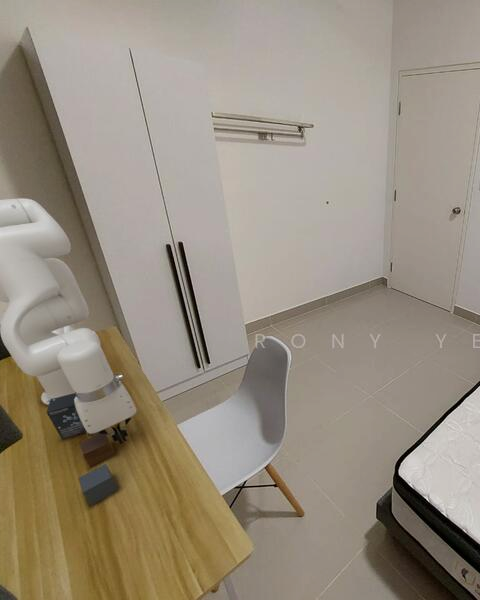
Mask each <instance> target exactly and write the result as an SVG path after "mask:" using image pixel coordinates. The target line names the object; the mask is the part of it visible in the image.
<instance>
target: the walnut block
mask: <svg viewBox="0 0 480 600" xmlns="http://www.w3.org/2000/svg"><path fill="white" fill-rule="evenodd" d="M79 444H80V448H81V453H82V455H83V457H84V459H85V460H86V463H87V464H88V466H89V467H90V468H92V467H94V466H97V465H99V464H101V463H103V462H105V461H107V460H108V459H109V460H110V459H111V458H113V457H115V456H116V452H115V450H114V447H113V444H112V442H111V440H110V438H109V435H108V434H98V435H95V436H91V437H88V438H86V439H84V440H82V441H80V442H79Z"/></svg>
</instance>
